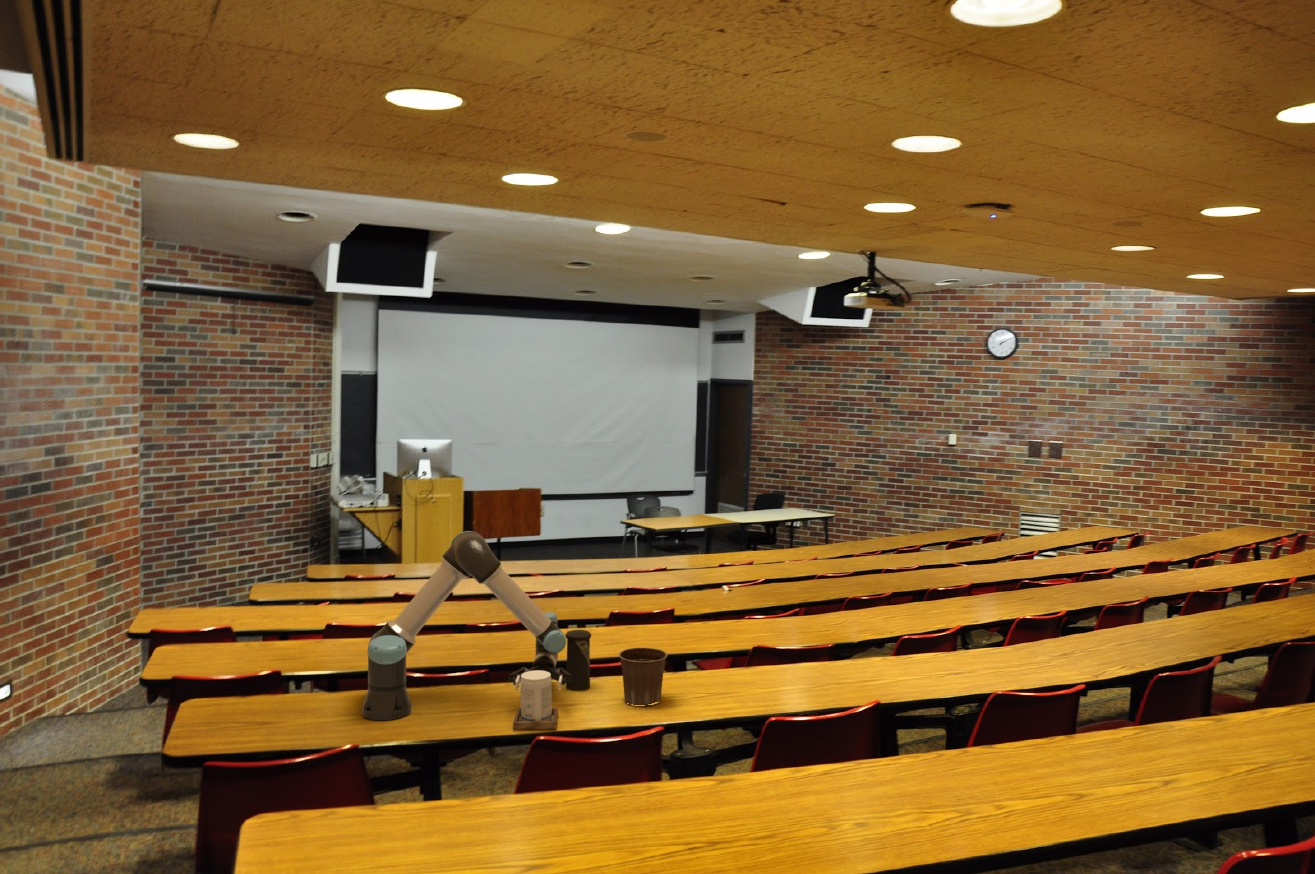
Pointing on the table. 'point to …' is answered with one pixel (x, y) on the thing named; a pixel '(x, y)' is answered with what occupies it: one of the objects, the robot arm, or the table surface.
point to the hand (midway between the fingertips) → (538, 686)
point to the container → (578, 659)
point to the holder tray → (535, 722)
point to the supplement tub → (536, 696)
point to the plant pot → (642, 674)
